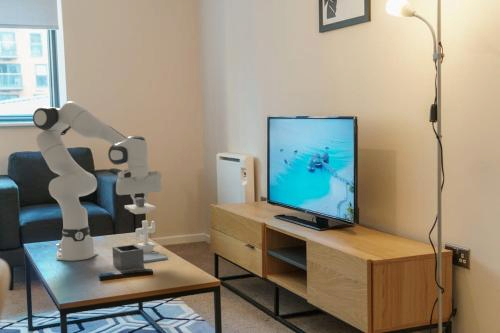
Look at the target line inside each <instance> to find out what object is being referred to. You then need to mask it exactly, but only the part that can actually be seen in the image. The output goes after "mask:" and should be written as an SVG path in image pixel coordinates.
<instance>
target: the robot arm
mask: <svg viewBox="0 0 500 333" xmlns="http://www.w3.org/2000/svg"><path fill="white" fill-rule="evenodd" d="M32 121H33V124H34V125H35V127H36V128H38V129H40V130H41V131H40V132H39V133H37V135H36V144H37V147H38V149H39V151H40V153H41V155H42V157H43V159H44V161H45V162H46V164H47V166H48V168H49V170H50V171H51V172H53V174H57V177H55V178H53V179H51V180H50V182H49V184H48V191H49V195H50V197H52V198H53V199H55V201H57V203H58V205H59V207H60V210H61V214H62V223H63V225H62V226H63V228H62V232H61V233H62V237H61V240H60V242H59V243H56V246H57V249H59V250H58V251H56V252H55V253H56V261H69V262H70V261H73V262H74V261H84V260H87V259H88V260H89V259H91V258H93V257H96V256H98V252H96V251H95V246H94V238H93V237H92V236H91V235H90V226H89V221H88V220H89V219H88V218H89V216H88V210H87V208H86V207H84V206H83V205H82V204H81V202H80V197H85V196H88V195H90V194H92V193H94V192H95V191H96V190H97V188H98V180H97V178H96V177H95V176H96V175H94V174H92V172H91V173H90V172H89V171H86V170H85V169H84V168H83V167H81V166H80V165H79V164H78V163H77V162H76V161H75V160H74V158H73V156H72V155H71V154H70V152H69V151H68V148H67V147H66V145H65V143H64V141H63V140H62V137H61V136H65V135H66V134H67V132H68V131H70V129H72V130H73V131H74V132H75V133H77V134H78V135H80V136H82V137H84V138H89V139H100V140H102V141H106V142H108V143H109V144H111V146H110V147H109V148H108V153H107V155H108V159H109V161H110V163H112V164H113V165H114V166H115V165H116V166H123V165H124V166H125V165H127V168H126V169H123V170H121V171H119V172H118V173H117V180H116V184H115V193H116V195H118V196H124V195H130V197H131V199H132V202H133V205H134V204H138V200H136V199H135V198H136V194H138V195H139V194H143V195H144V196H143V197H142V198H143V199H144V203H147V198H148V197H149V193H159V192H162V187H163V186H162V181H161V180H162V174H161V173H160V171H157V170H153V171H149V162H148V154H149V153H148V145H147V144H148V143H147V141H146V139H145V137H143V136H140V135H129V136H128V137H126V136H125V135H123V134H121V132H119V131H117V130H116V129H115V128H113V126H112V127H111V126H110V125H109V124H107V123H106V122H104V121H103V120H101V119H100V118H99V117H97V116H96V115H95V114H94V113H92V112H91V111H90V110H88V109H87V108H86V107H84V106H83V105H81V104H80V103H78V102H76V101H73V100H72V101H71V100H70V101H67V102H65V103H64V104H63V105H62V106H61V108H60V107H56V106H55V107H54V106H53V107H50V106H43V107H39V108H37V109H35V111H34V112H33V115H32Z"/></svg>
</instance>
